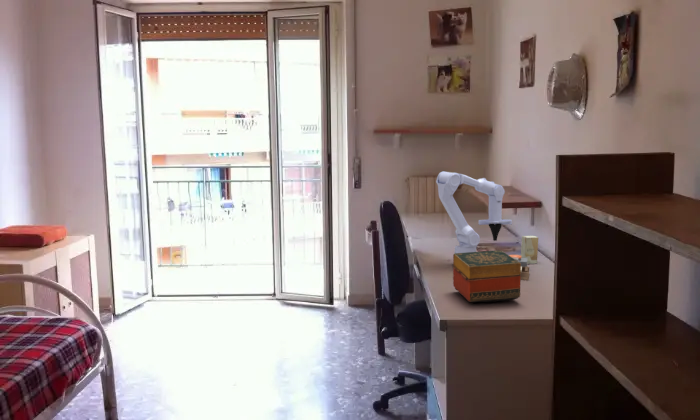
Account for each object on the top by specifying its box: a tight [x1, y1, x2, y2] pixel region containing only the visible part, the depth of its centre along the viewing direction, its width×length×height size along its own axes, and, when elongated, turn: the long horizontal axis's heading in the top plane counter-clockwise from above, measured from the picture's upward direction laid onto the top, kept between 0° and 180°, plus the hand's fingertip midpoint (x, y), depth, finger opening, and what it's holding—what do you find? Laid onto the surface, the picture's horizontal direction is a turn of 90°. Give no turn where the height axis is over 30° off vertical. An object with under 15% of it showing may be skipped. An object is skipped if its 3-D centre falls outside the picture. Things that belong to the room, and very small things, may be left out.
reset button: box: [508, 254, 522, 261], centre depth 261 cm, size 5×5×5 cm
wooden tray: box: [520, 265, 530, 281], centre depth 253 cm, size 21×11×4 cm, turn 73°
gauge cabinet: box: [518, 258, 528, 267], centre depth 261 cm, size 10×8×5 cm
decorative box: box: [452, 249, 522, 303], centre depth 219 cm, size 20×22×16 cm
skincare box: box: [520, 235, 539, 265], centre depth 275 cm, size 6×4×12 cm
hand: (494, 240), depth 275 cm, fingers closed
